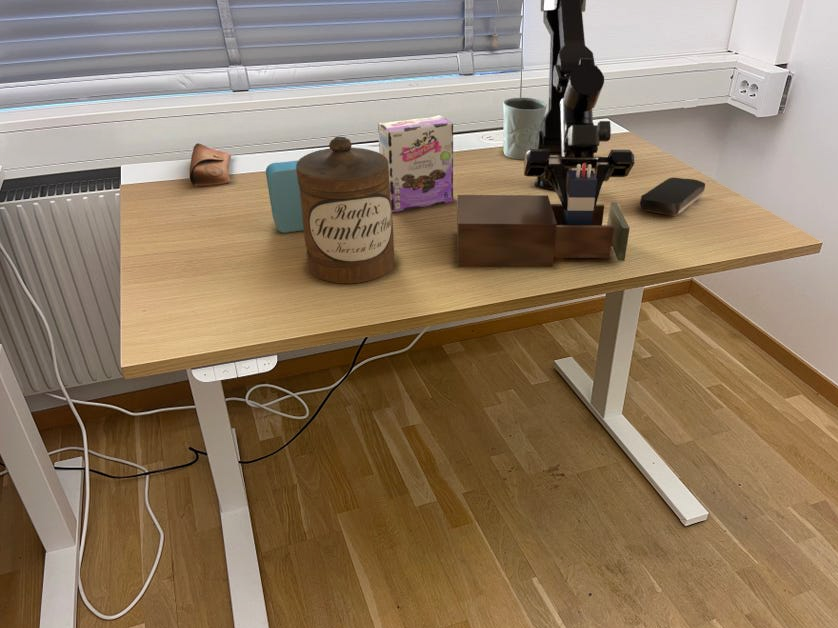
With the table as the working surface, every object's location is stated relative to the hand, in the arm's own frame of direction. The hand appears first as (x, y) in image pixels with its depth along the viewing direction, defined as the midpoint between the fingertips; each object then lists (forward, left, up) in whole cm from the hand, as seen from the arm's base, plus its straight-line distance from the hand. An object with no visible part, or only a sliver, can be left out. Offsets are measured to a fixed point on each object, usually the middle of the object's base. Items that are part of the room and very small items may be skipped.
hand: (579, 209), depth 122 cm
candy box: (-36, +9, -9) cm, 38 cm away
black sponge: (+12, +31, -9) cm, 34 cm away
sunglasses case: (-86, +5, -9) cm, 86 cm away
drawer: (0, +2, -8) cm, 8 cm away
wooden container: (-34, -20, -9) cm, 41 cm away
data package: (-50, -10, -9) cm, 52 cm away
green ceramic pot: (-27, +47, -9) cm, 55 cm away
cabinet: (-12, -4, -9) cm, 16 cm away
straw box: (-1, +1, -7) cm, 7 cm away
